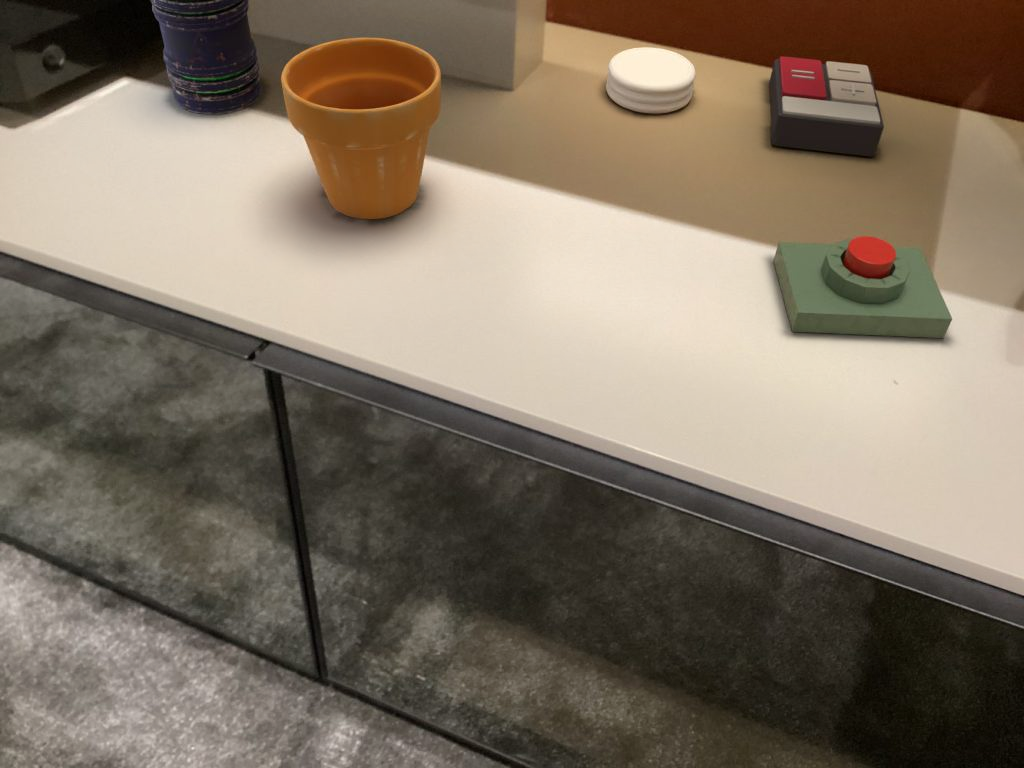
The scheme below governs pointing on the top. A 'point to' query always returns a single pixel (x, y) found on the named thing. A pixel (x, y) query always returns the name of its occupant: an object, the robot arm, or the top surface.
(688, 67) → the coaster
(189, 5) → the storage jar
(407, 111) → the flower pot
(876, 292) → the button box
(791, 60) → the calculator
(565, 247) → the top surface
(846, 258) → the red push button
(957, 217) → the top surface
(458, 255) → the top surface
